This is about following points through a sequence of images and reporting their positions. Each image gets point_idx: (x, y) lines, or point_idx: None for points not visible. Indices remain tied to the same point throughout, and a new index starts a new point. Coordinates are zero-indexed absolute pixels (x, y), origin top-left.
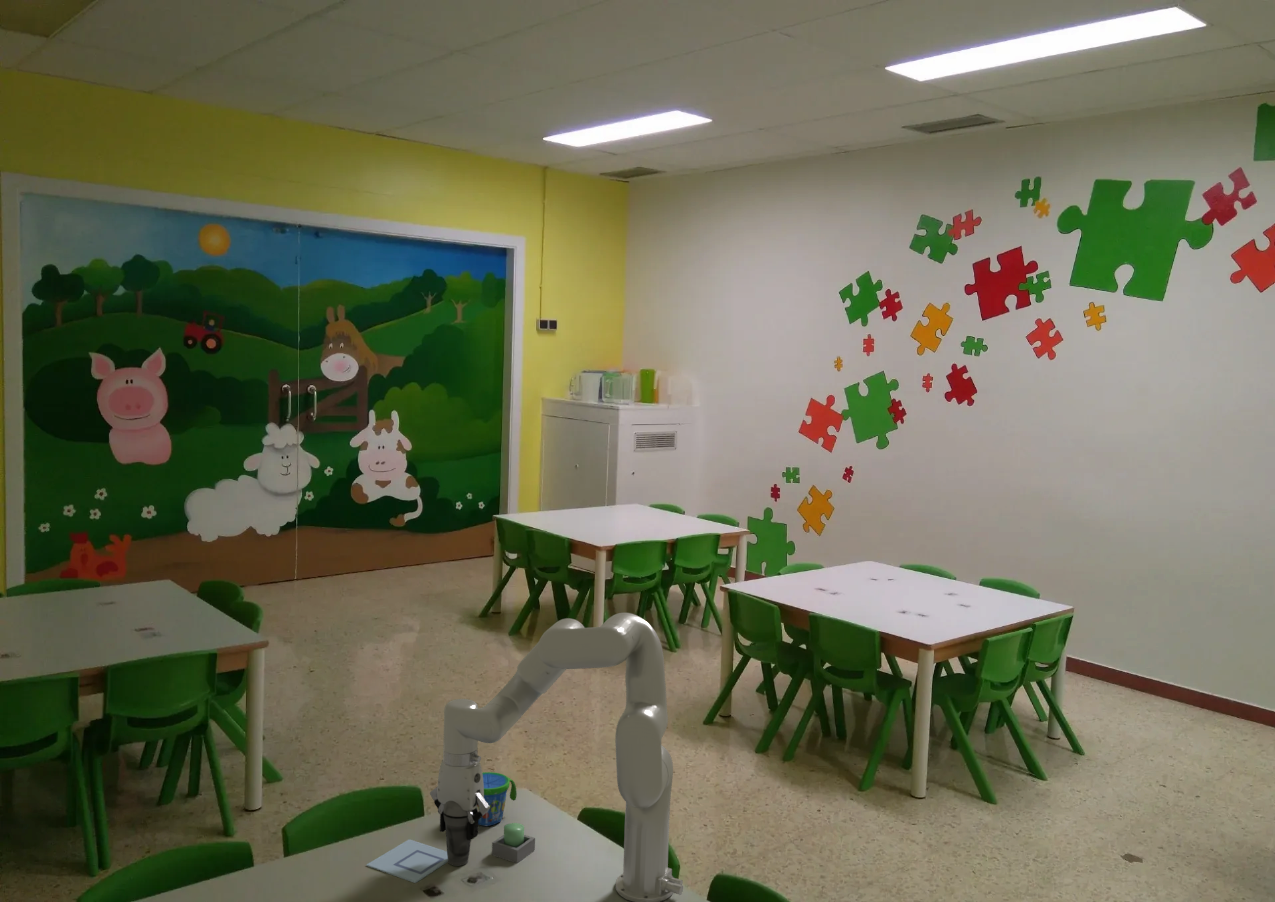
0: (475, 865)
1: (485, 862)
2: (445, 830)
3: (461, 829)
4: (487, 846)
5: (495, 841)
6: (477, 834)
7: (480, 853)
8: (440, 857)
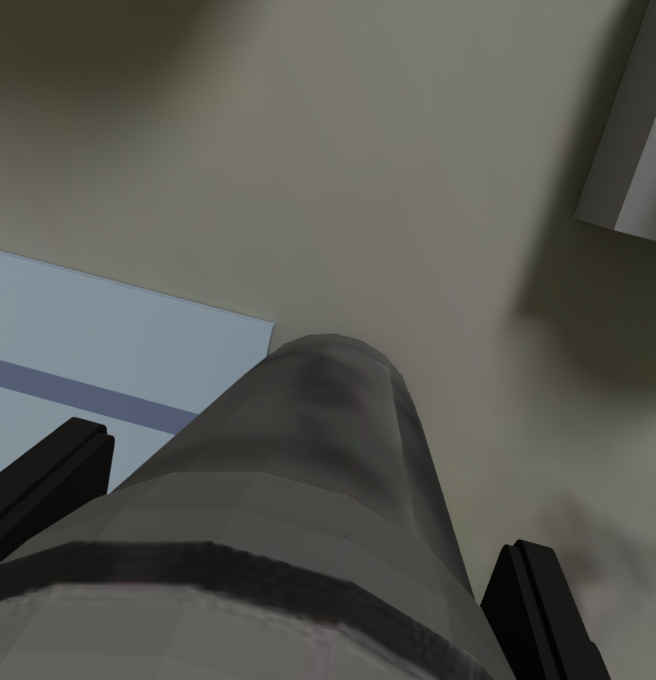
0: (487, 419)
1: (554, 352)
2: None
3: None
4: (471, 58)
5: (646, 194)
6: (550, 550)
7: (454, 215)
8: (170, 402)
